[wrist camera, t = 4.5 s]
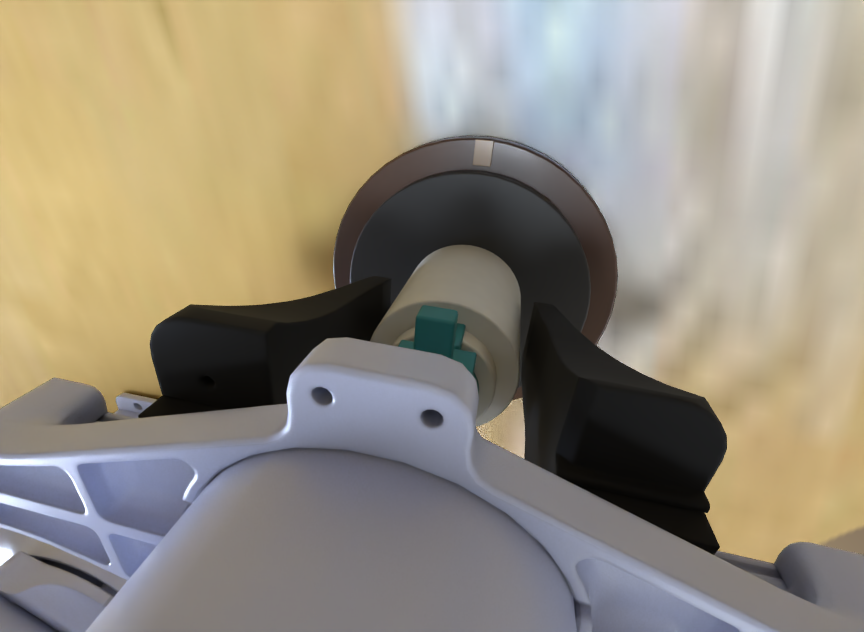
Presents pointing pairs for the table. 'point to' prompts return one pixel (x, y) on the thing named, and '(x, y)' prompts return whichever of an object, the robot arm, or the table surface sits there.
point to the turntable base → (506, 162)
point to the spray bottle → (472, 273)
